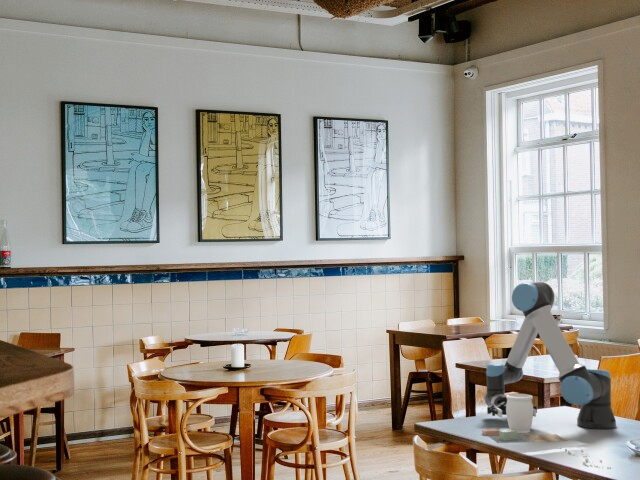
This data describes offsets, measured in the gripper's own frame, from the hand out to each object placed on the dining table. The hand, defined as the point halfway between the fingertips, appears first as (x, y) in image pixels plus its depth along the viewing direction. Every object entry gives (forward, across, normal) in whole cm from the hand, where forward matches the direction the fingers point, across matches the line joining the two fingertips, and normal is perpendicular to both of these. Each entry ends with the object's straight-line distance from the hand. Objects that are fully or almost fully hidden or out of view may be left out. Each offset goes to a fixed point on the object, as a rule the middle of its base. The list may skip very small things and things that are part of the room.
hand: (518, 413), depth 321 cm
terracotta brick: (+5, +12, -8) cm, 16 cm away
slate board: (+14, +8, -8) cm, 18 cm away
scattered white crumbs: (+44, -10, -9) cm, 46 cm away
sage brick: (+14, +8, -7) cm, 18 cm away
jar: (0, 0, -8) cm, 8 cm away
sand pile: (+14, -6, -8) cm, 17 cm away
